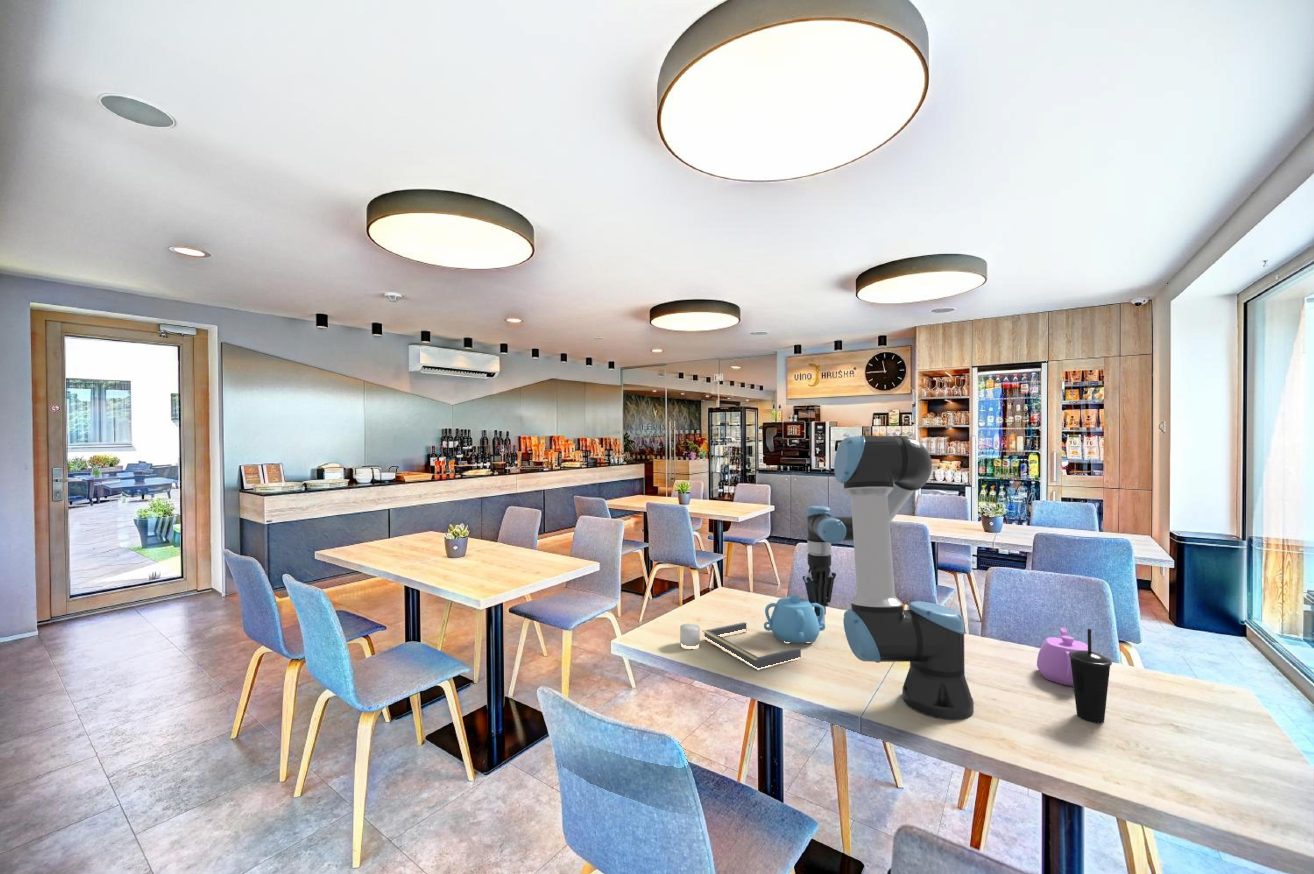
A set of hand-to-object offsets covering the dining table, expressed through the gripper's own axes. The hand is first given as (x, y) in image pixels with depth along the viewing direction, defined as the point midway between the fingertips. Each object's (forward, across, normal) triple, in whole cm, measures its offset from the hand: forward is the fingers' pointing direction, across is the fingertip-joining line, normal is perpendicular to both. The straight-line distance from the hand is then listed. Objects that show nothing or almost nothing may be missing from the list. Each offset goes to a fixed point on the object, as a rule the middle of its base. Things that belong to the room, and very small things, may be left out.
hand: (820, 624), depth 177 cm
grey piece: (+2, +29, 0) cm, 29 cm away
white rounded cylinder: (+2, +44, -11) cm, 45 cm away
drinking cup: (+3, -13, +70) cm, 71 cm away
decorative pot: (+3, +11, 0) cm, 11 cm away
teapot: (+3, -32, +57) cm, 65 cm away
